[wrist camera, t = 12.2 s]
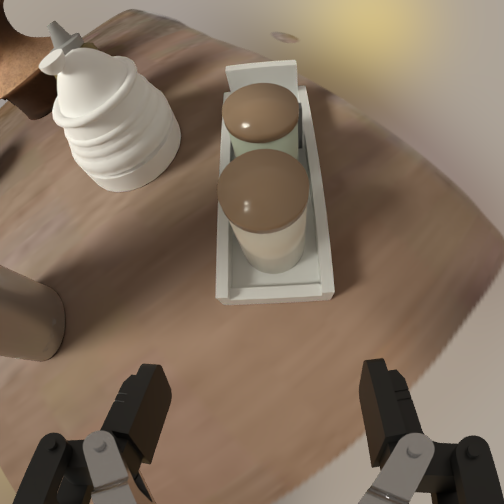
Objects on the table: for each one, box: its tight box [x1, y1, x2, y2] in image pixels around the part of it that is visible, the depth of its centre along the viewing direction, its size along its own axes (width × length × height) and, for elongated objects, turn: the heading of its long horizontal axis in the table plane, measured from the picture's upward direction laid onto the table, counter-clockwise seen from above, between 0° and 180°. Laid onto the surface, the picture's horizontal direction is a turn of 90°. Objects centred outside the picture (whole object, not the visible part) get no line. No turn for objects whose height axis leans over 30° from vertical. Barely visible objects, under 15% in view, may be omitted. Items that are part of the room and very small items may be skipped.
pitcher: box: [0, 0, 58, 120], centre depth 33 cm, size 18×17×28 cm
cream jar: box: [217, 149, 309, 274], centre depth 24 cm, size 6×6×10 cm
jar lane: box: [216, 60, 335, 305], centre depth 29 cm, size 24×10×7 cm, turn 1°
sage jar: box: [222, 83, 299, 161], centre depth 27 cm, size 6×6×10 cm
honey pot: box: [39, 48, 181, 192], centre depth 28 cm, size 13×13×18 cm
